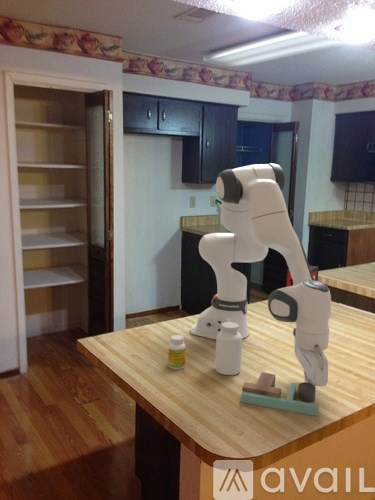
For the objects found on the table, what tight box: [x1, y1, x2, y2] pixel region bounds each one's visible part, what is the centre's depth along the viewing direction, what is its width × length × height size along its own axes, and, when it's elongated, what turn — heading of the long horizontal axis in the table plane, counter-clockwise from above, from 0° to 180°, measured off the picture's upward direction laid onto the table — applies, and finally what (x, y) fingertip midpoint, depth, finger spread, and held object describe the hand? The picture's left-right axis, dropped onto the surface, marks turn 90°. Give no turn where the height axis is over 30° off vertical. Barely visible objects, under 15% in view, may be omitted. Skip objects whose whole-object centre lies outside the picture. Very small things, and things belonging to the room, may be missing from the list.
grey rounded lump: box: [297, 381, 317, 403], centre depth 121 cm, size 4×4×4 cm
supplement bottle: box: [167, 334, 187, 370], centre depth 139 cm, size 5×5×10 cm
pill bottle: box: [214, 322, 243, 376], centre depth 136 cm, size 8×8×15 cm
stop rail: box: [240, 382, 320, 417], centre depth 120 cm, size 20×12×2 cm, turn 71°
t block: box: [241, 371, 282, 398], centre depth 123 cm, size 10×11×4 cm
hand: (308, 385), depth 124 cm, fingers closed
